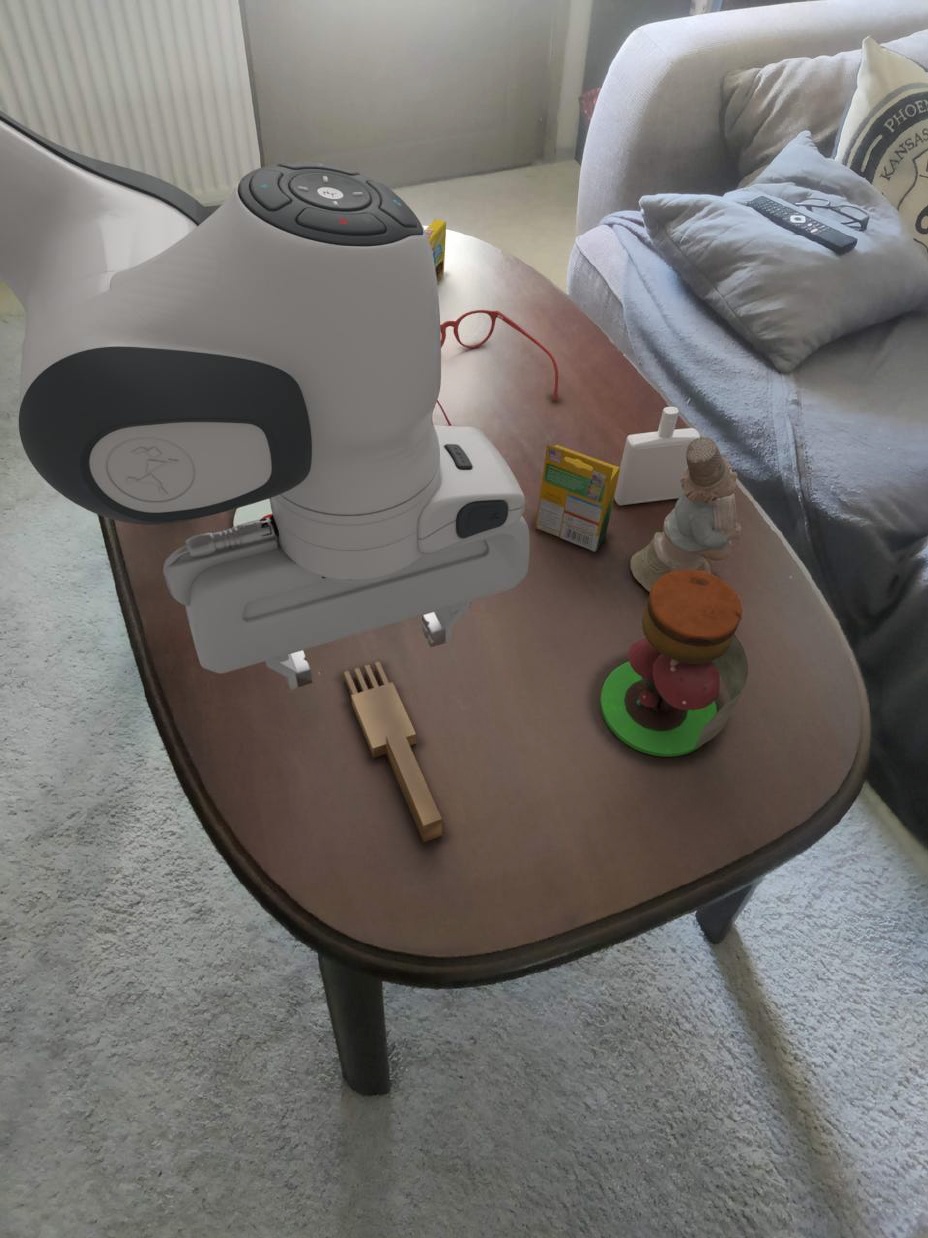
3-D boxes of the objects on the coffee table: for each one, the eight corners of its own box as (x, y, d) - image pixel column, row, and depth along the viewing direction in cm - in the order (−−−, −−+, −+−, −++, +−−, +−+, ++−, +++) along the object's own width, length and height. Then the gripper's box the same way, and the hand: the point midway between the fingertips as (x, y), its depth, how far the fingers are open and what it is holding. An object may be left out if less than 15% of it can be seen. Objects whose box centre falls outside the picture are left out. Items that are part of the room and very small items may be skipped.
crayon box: (606, 536, 94) (625, 452, 85) (595, 553, 92) (613, 469, 84) (546, 512, 96) (558, 428, 87) (534, 528, 95) (545, 444, 86)
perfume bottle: (617, 507, 97) (637, 420, 88) (612, 495, 98) (631, 408, 89) (684, 498, 98) (711, 412, 89) (678, 487, 100) (703, 400, 90)
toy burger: (605, 773, 75) (638, 672, 64) (587, 658, 83) (613, 549, 72) (739, 771, 76) (795, 670, 64) (708, 657, 84) (753, 548, 72)
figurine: (638, 610, 88) (683, 455, 72) (624, 550, 93) (664, 394, 78) (724, 609, 88) (787, 455, 73) (706, 549, 93) (761, 394, 78)
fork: (409, 848, 70) (409, 831, 68) (341, 680, 81) (339, 660, 78) (455, 830, 71) (456, 814, 69) (382, 667, 82) (381, 648, 79)
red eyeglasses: (502, 334, 119) (505, 301, 115) (565, 398, 110) (570, 364, 106) (387, 365, 113) (386, 331, 109) (443, 435, 104) (444, 401, 100)
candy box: (402, 330, 119) (401, 273, 112) (387, 326, 119) (385, 269, 113) (445, 275, 128) (447, 219, 122) (432, 272, 129) (433, 216, 122)
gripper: (166, 593, 41) (220, 747, 51) (553, 491, 46) (529, 649, 57) (143, 507, 45) (198, 667, 55) (505, 422, 50) (491, 583, 61)
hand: (369, 657), depth 56 cm, fingers open, 8 cm apart
